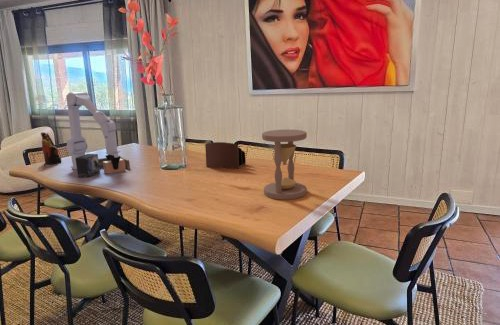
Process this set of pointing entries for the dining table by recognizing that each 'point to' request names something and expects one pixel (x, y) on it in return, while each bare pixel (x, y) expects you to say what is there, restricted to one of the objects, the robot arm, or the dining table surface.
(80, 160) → the small box
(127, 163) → the shelf
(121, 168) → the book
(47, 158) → the statue
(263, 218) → the dining table surface
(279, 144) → the hourglass
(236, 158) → the letter holder
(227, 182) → the dining table surface
